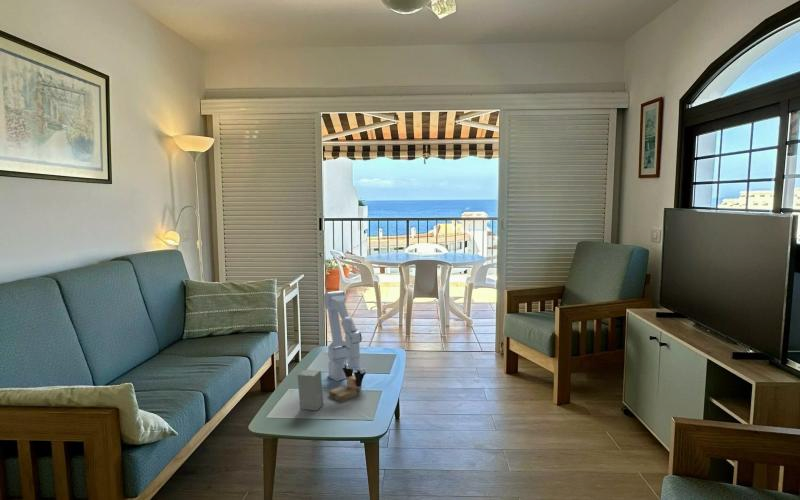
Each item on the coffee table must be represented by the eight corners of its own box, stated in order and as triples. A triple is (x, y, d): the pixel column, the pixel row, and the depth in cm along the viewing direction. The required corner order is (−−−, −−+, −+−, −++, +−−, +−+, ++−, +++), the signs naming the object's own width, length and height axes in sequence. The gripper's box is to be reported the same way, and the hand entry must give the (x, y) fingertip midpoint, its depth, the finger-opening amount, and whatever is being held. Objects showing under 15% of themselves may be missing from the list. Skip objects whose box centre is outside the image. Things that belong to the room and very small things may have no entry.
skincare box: (323, 405, 200) (322, 370, 199) (315, 412, 194) (314, 375, 192) (306, 402, 203) (305, 367, 202) (298, 409, 196) (296, 373, 195)
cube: (346, 387, 221) (346, 377, 220) (355, 384, 224) (355, 374, 223) (353, 390, 217) (352, 380, 216) (361, 387, 220) (361, 377, 220)
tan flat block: (329, 396, 210) (329, 390, 210) (345, 391, 216) (345, 385, 216) (340, 402, 204) (340, 396, 203) (356, 397, 210) (356, 390, 209)
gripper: (338, 354, 222) (338, 382, 223) (355, 362, 211) (356, 390, 212) (350, 351, 226) (350, 378, 228) (368, 358, 216) (368, 386, 217)
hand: (354, 384), depth 220 cm, fingers open, 7 cm apart
